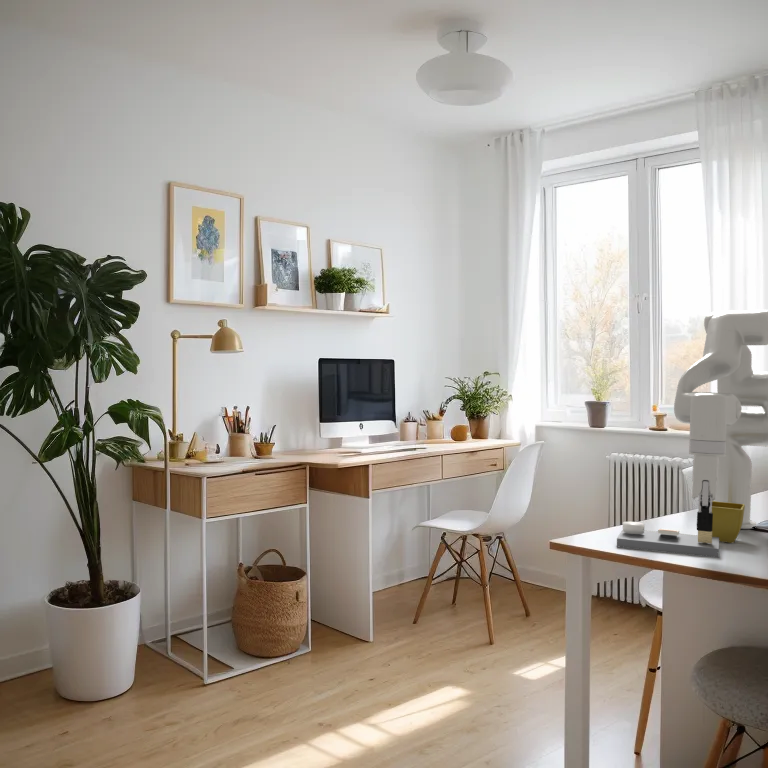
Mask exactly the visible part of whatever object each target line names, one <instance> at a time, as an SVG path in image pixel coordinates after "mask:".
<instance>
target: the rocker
mask: <svg viewBox="0 0 768 768" xmlns="http://www.w3.org/2000/svg"><path fill="white" fill-rule="evenodd" d="M657 531H658V533H659V534H669V535H679V533H680V529H679V530H677V529H666V528H659V529H658V530H657Z"/></svg>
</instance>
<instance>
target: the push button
mask: <svg viewBox="0 0 768 768" xmlns="http://www.w3.org/2000/svg"><path fill="white" fill-rule="evenodd" d="M645 526H646V524H645V523H642V522H638V521H623V522H622V530H623V532H625V533H630V534H644V530H645Z"/></svg>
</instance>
